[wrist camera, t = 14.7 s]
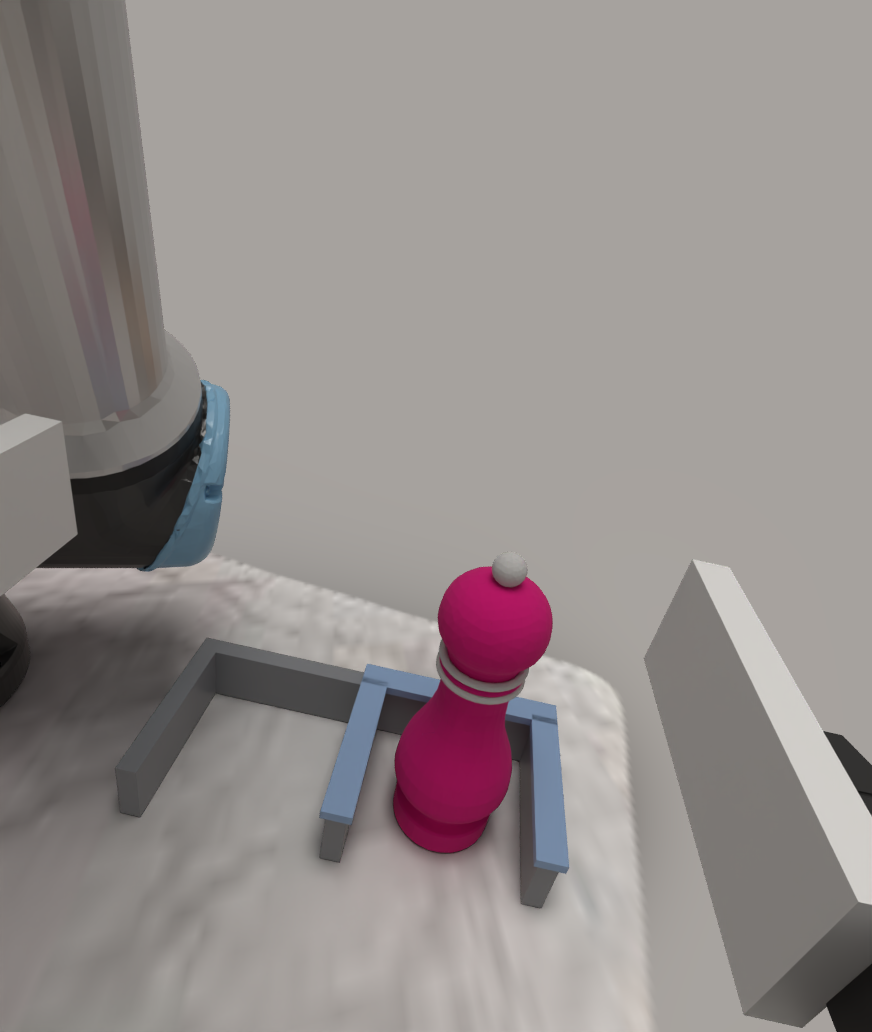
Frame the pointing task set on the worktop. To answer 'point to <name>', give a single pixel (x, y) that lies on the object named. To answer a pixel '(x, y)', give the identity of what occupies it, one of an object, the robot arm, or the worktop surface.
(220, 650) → the divider rack
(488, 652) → the pepper mill
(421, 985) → the worktop surface
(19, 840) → the worktop surface
